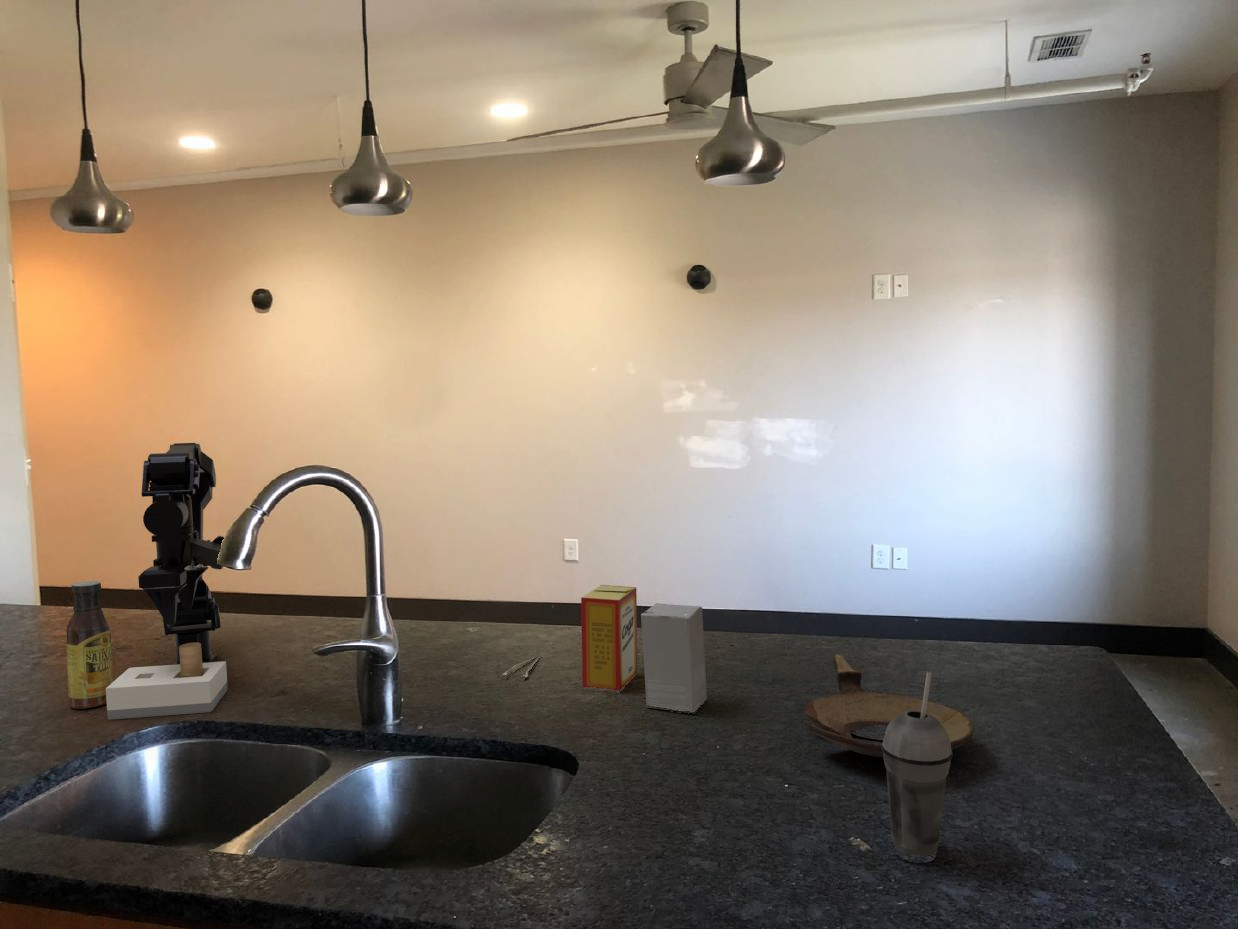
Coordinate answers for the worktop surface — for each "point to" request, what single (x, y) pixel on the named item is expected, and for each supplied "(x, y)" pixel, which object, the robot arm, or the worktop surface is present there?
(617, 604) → the baking soda box
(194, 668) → the oak peg
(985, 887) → the worktop surface
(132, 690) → the hole block
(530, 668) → the tweezers
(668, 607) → the skincare box
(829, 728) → the oil lamp
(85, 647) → the sauce bottle
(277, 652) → the worktop surface
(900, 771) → the beverage cup
